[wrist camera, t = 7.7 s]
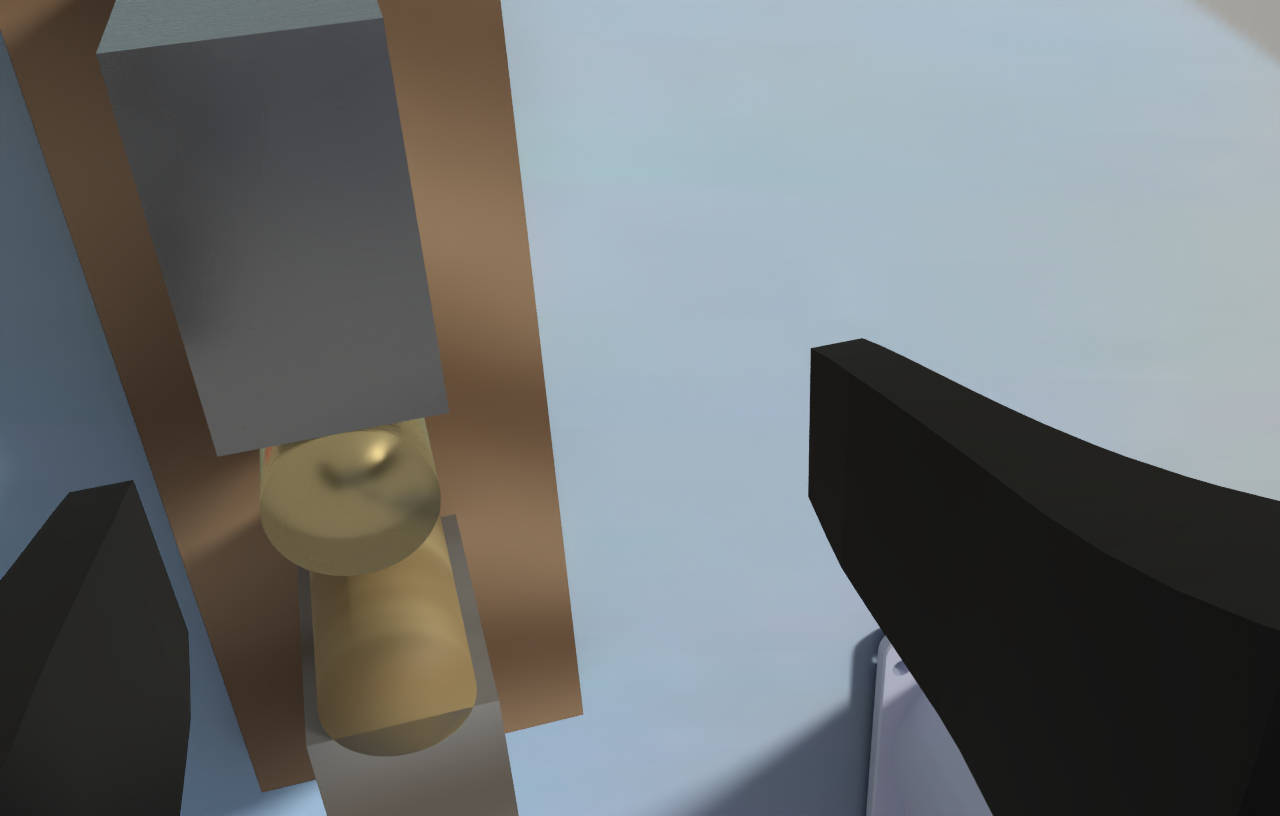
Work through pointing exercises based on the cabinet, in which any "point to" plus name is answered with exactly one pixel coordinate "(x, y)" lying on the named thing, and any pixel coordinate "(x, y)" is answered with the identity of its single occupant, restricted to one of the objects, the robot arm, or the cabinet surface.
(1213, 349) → the cabinet surface
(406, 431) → the grey post
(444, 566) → the hinge jig
